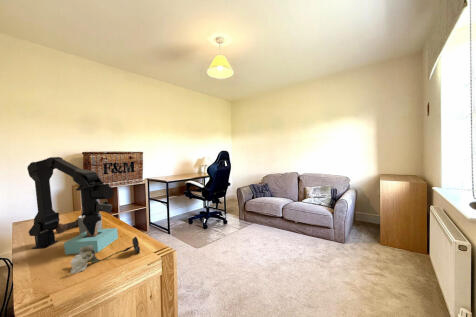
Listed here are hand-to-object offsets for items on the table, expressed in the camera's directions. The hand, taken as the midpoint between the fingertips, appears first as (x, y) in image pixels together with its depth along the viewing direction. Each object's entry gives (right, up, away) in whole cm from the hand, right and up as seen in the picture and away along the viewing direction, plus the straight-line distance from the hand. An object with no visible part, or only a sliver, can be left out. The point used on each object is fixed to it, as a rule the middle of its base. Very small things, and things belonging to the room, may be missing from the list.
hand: (92, 233), depth 92 cm
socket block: (0, -6, 0) cm, 6 cm away
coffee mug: (-13, -6, +17) cm, 23 cm away
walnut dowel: (0, -4, 0) cm, 4 cm away
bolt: (-30, -7, +27) cm, 41 cm away
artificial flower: (+16, -5, -15) cm, 23 cm away
